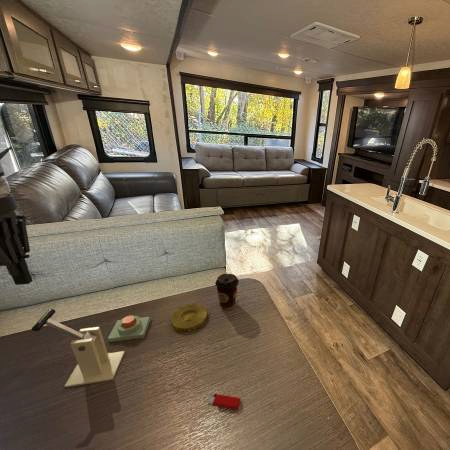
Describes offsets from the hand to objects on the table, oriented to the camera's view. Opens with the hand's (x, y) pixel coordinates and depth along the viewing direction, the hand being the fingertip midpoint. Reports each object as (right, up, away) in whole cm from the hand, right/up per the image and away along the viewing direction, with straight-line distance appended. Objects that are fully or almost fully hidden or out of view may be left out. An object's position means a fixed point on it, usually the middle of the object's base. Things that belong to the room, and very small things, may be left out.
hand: (24, 282), depth 64 cm
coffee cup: (+42, -18, +36) cm, 58 cm away
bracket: (+13, -27, +7) cm, 31 cm away
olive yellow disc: (+31, -20, +27) cm, 46 cm away
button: (+14, -18, +19) cm, 30 cm away
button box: (+14, -22, +20) cm, 33 cm away
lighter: (+51, -33, +2) cm, 61 cm away
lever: (+10, -13, 0) cm, 17 cm away
